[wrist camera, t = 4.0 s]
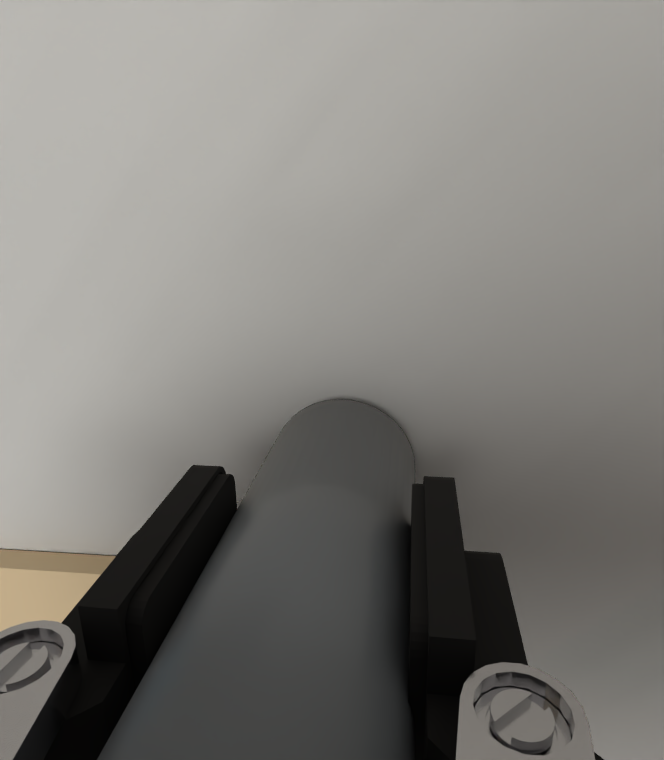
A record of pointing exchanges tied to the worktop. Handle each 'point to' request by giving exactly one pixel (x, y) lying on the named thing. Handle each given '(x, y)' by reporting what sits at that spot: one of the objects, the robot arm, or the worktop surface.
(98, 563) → the notepad
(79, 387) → the worktop surface
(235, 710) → the marker
